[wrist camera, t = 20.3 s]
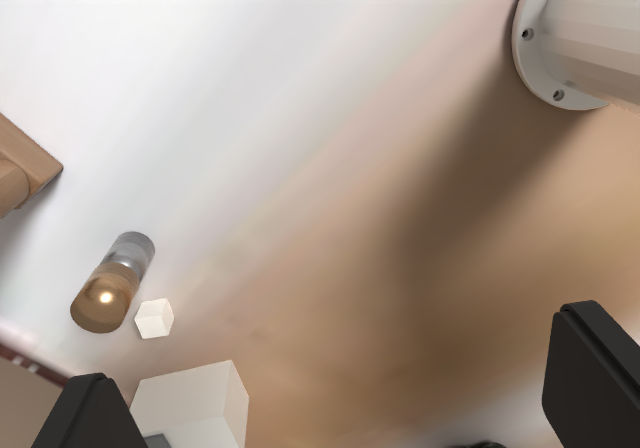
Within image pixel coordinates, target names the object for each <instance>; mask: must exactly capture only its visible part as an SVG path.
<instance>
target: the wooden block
mask: <svg viewBox="0 0 640 448" xmlns="http://www.w3.org/2000/svg"><path fill="white" fill-rule="evenodd" d="M62 169H63V165H62V164H61V163H60V162H58V161H57V160H56V159H55V158H54V157H53V156H51V155H50V154H49V153H48V152H47V151H45V150H44V149H43V148H42V147H41V146H39V145H38V144H37V143H36V142H35V141H33V140H32V139H31V138H30V137H29V136H27V135H26V134H25V133H24V132H23V131H22V130H20V129H19V128H18V127H17V126H16V125H14V124H13V123H12V122H11V121H10V120H8V119H7V118H6V117H5V116H4V115H2V114H1V113H0V219H1V218H3V217H4V216H5V215H6V214H8V213H9V212H10V211H11V210H12V209H19V208H21V207H22V206H23V205H24V204H26V203H27V202H28V201H29V200H30V199H32V198H33V197H34V196H35V195H36V194H38V193H39V192H40V191H41V190H42V189H43V188H44V187H45V186H46V185H47V184H48V183H49V182H50V181H51V180H52V179H53V178H54V177H55V176H56V175H57V174H58V173H59V172H60V171H62Z"/></svg>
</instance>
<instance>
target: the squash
mask: <svg viewBox="0 0 640 448" xmlns="http://www.w3.org/2000/svg"><path fill="white" fill-rule="evenodd" d="M465 448H471V447H465ZM481 448H506V447H505V446H503V445H501V444H498V443H489V444H486V445H484V446H482V447H481Z"/></svg>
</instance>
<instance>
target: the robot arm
mask: <svg viewBox="0 0 640 448" xmlns="http://www.w3.org/2000/svg"><path fill="white" fill-rule="evenodd" d="M524 30H525V35H524V36H523V37H522V33H523V31H524ZM511 41H512V54H513V59H514V62H515V66H516V70H517V72H518V74H519V76H520V77H521V79H522V81H523V83H524V84H525V85H526V86H527V88H528V89H529V90H530V91H531V92H532V93H533V94H534V95H536V96H537V97H539V98H540V99H542V100H543V101H545V102H547V103H549V104H551V105H553V106H556V107H560V108H564V109H568V110H588V109H595V108H600V107H603V106H606V105H609V104H612V105H615V106H617V107H620V108H623V109H625V110H628V111H630V112H633V113H636V114H638V115H640V0H519V3H518V6H517V9H516V13H515V17H514V20H513V28H512V38H511ZM555 92H556V93H555ZM554 93H555V94H554ZM542 407H543V410H544V413H545V415H546V417H547V419H548V421H549V423H550V424H551V426H552V428H553V430H554V431H555V433H556V435H557V436H558V438H559V440H560V441H561V443H562V445H563V447H564V448H640V346H639V345H638V344H637V343H636V342H635V341H634V340H633V339H632V338H631V337H630V336H629V335H628V334H627V333H626V332H625V331H624V330H623V329H622V327H621V326H620V325H619V324H618V323H617V322H616V321H615V320H614V319H613V318H612V317H611V316H610V315H609V314H608V313H607V312H606V311H605V310H604V309H603V308H602V306H601V305H600V304H598V303H597V302H596V301H593V300H589V301H582V302H576V303H569V304H564V305H563V306H562V307H561V309H560V312H557V313H555V314H554V316H553V322H552V329H551V336H550V343H549V350H548V358H547V365H546V372H545V379H544V386H543V394H542ZM31 448H148V446H147V444H146V442H145V440H144V438H143V436H142V434H141V432H140V430H139V428H138V426H137V424H136V422H135V420H134V418H133V416H132V414H131V413H130V411H129V409H128V407H127V405H126V403H125V401H124V399H123V397H122V395H121V393H120V391H119V389H118V387H117V385H116V383H115V381H114V380H113V379H112V378H108V379H107V377H106V376H105V374H103V373H93V374H87V375H80V376H73V377H72V378H70V379H69V381H68V382H67V383H66V385H65V387H64V389H63V391H62V393H61V394H60V396H59V398H58V400H57V402H56V403H55V405H54V407H53V409H52V410H51V412H50V414H49V416H48V418H47V420H46V421H45V423H44V425H43V427H42V429H41V430H40V432H39V434H38V436H37V438H36V439H35V441H34V443H33V445H32V447H31Z"/></svg>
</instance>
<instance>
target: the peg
mask: <svg viewBox="0 0 640 448" xmlns="http://www.w3.org/2000/svg"><path fill="white" fill-rule="evenodd" d="M154 253H155V248H154V245H153V243H152V241H151V240H150V239H149V238H148V237H147V236H145V235H144V234H141V233H138V232H126V233H123V234H121V235H120V236H119V237H118V238H117V240H116V241H115V243H114V244H113V246H112V247H111V249H110V250H109V252H108V253H107V255H106V256H105V257H104V259H103V260H102V262H101V263H100V265H99V266H98V267H97V268H96V269H95V270H94V271H93V273H92V274H91V276H90V277H89V279H88V280H87V282H86V283H85V285H84V286H83V288H82V289H81V291H80V292H79V294H78V295H77V297H76V298H75V300H74V301H73V302H72V304H71V307H70V313H71V316H72V318H73V320H74V321H75V322H76V323H77V324H78V325H79V326H80V327H82V328H83V329H85V330H87V331H90V332H93V333H109V332H112V331H114V330H116V329H117V328H119V327H120V325H121V324H122V322H123V320H124V318H125V316H126V314H127V312H128V310H129V308H130V306H131V304H132V301H133V299H134V297H135V295H136V293H137V291H138V289H139V285H140V282H141V280H142V278H143V276H144V274H145V272H146V270H147V268H148V266H149V264H150V262H151V260H152V258H153V256H154Z"/></svg>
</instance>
